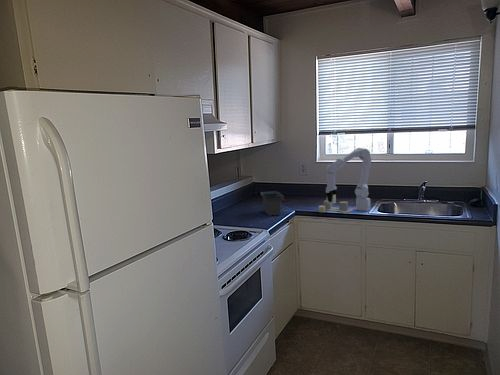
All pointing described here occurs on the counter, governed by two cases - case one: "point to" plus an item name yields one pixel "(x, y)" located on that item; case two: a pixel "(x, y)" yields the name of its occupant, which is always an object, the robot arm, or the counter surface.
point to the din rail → (342, 208)
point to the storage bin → (272, 202)
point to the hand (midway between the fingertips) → (331, 200)
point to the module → (332, 200)
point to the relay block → (321, 208)
